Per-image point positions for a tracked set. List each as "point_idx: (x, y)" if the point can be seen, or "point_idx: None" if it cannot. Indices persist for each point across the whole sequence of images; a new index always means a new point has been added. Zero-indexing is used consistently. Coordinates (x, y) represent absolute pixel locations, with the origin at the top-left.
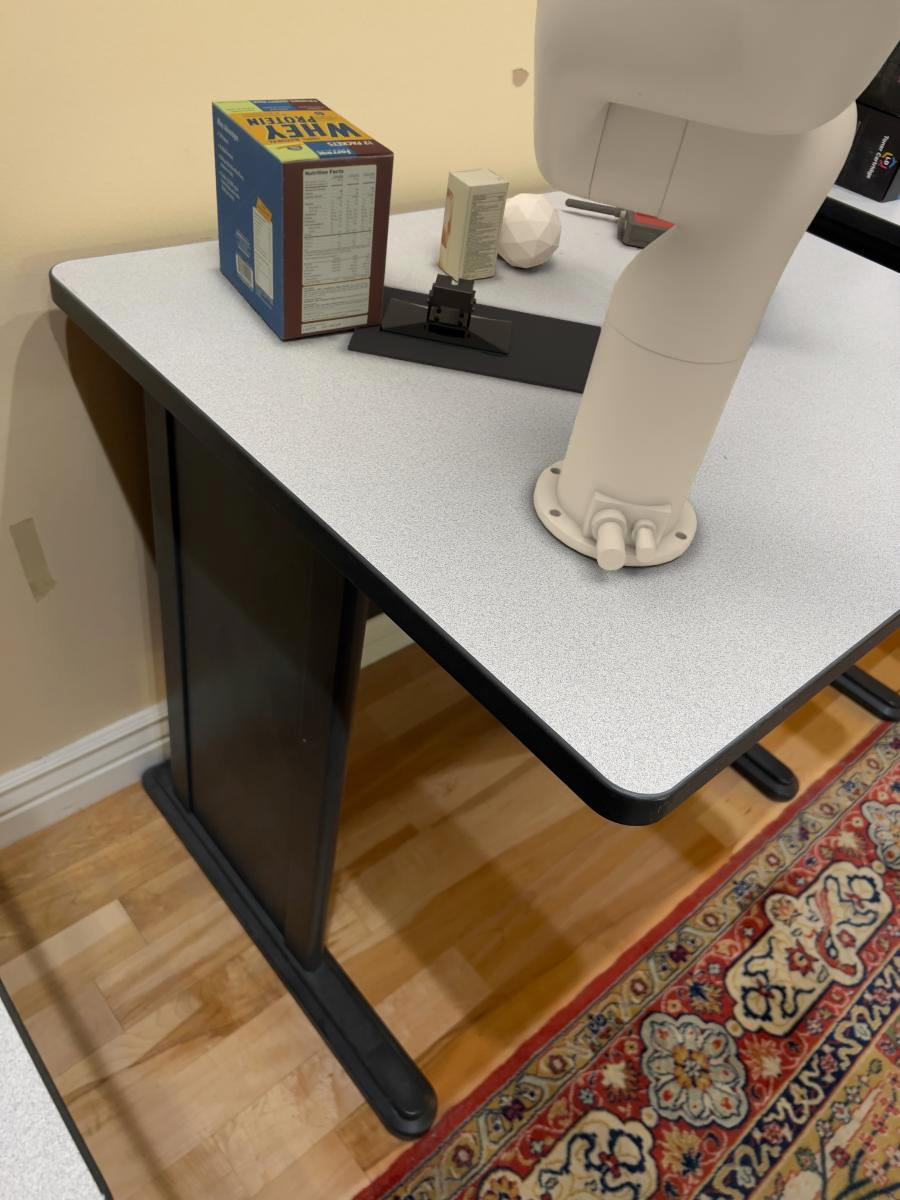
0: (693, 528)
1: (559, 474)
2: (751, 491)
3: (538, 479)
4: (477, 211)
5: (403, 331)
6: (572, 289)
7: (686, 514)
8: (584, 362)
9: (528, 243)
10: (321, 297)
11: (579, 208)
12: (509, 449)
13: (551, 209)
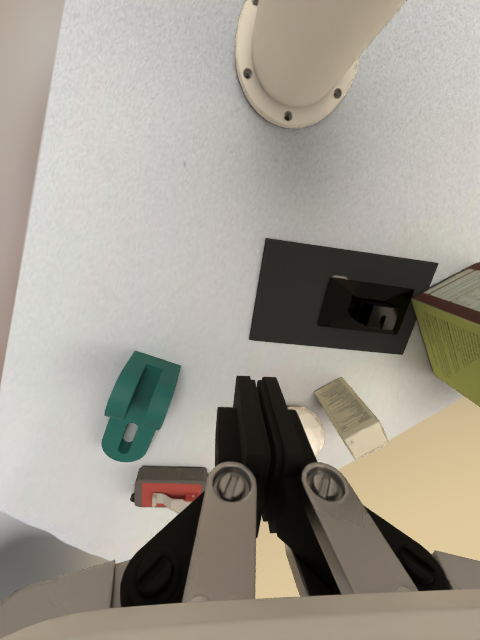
0: (243, 13)
1: (336, 87)
2: (171, 113)
3: (353, 78)
4: (358, 411)
5: (399, 289)
6: None
7: (244, 37)
8: (273, 282)
9: (301, 413)
10: (478, 279)
11: None
12: (354, 145)
13: None
